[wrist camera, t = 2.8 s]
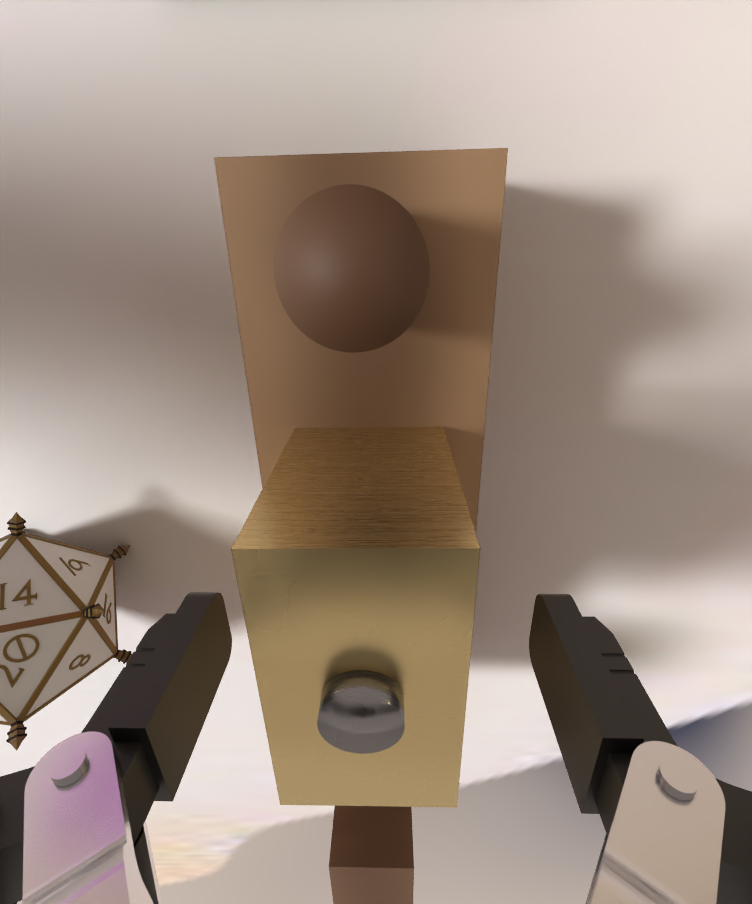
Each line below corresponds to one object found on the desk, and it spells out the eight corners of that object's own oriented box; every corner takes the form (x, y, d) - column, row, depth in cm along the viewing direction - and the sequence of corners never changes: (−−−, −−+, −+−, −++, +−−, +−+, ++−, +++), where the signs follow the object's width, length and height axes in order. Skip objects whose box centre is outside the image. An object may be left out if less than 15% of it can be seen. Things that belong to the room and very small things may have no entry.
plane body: (313, 653, 24) (261, 933, 14) (259, 178, 15) (10, 41, 5) (448, 653, 24) (490, 938, 14) (478, 171, 15) (659, 13, 5)
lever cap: (315, 625, 17) (274, 832, 11) (294, 428, 14) (220, 570, 8) (434, 625, 17) (460, 835, 11) (443, 426, 13) (487, 570, 7)
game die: (102, 491, 25) (-50, 453, 15) (205, 602, 24) (114, 638, 14) (-42, 612, 23) (-321, 658, 13) (65, 737, 22) (-149, 884, 12)
